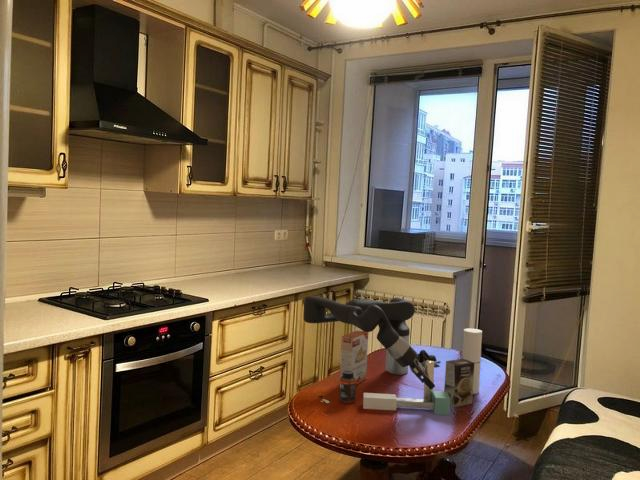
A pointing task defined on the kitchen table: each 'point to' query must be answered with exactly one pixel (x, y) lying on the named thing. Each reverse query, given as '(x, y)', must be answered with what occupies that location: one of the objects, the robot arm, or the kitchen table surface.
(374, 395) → the sleeve
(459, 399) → the coffee box
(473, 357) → the cylindrical container
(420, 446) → the kitchen table surface
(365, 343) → the cracker box
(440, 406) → the socket
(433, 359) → the cloth
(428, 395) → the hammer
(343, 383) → the supplement bottle
